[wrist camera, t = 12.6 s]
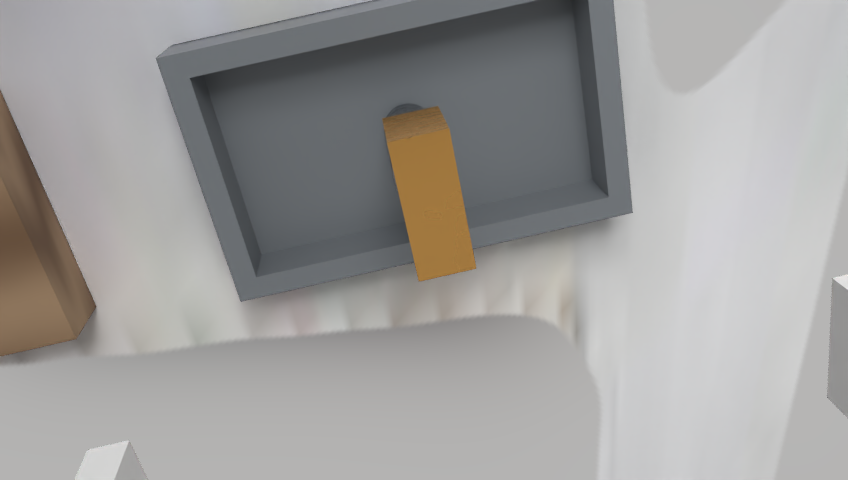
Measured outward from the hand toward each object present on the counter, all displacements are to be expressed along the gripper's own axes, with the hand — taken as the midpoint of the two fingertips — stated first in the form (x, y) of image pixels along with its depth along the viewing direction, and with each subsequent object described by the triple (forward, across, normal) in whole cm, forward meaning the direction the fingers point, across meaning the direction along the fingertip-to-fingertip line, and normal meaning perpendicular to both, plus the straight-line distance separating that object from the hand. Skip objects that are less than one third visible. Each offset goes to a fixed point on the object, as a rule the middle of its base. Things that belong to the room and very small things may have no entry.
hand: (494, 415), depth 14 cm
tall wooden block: (+21, 0, -1) cm, 21 cm away
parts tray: (+22, 0, -1) cm, 22 cm away
